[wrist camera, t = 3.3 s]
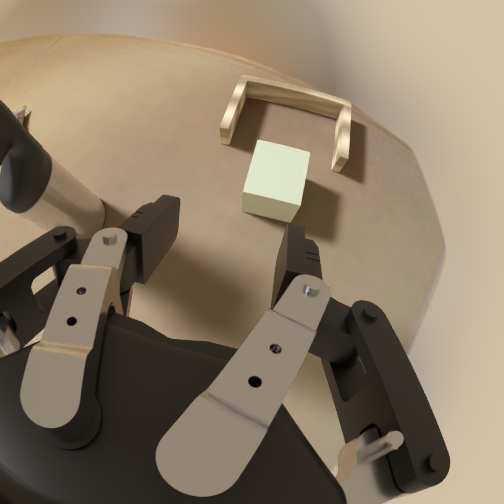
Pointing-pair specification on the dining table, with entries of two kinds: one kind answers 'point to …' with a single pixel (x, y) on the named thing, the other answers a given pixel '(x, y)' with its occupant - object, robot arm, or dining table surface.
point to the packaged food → (20, 114)
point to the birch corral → (293, 98)
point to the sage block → (275, 181)
